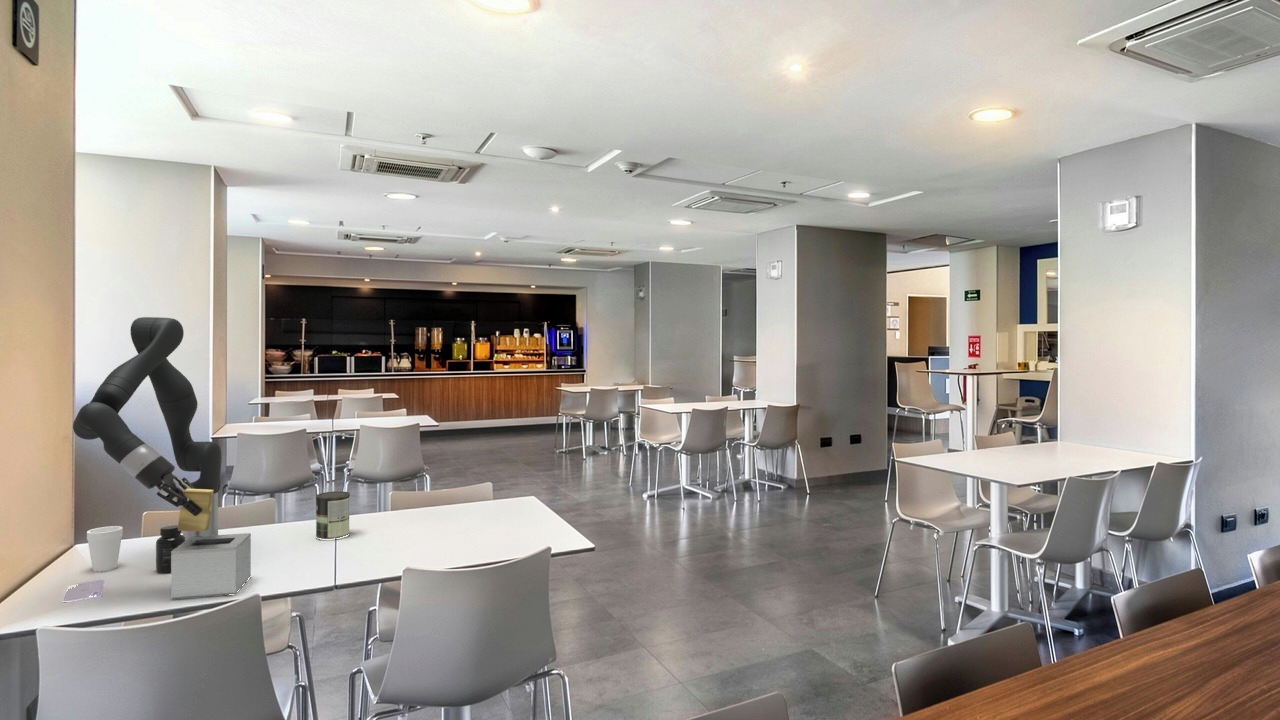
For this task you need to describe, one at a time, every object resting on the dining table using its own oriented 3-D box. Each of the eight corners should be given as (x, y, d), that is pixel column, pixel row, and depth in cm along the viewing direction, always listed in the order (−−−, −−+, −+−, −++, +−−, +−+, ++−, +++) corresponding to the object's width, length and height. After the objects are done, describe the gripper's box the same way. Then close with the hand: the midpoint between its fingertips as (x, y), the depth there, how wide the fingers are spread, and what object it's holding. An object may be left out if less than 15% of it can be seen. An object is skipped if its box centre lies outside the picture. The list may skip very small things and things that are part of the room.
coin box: (191, 581, 179) (191, 536, 179) (250, 577, 183) (250, 533, 183) (171, 600, 166) (171, 551, 166) (235, 594, 170) (235, 547, 170)
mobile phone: (104, 578, 180) (101, 594, 168) (104, 582, 180) (101, 598, 168) (67, 584, 175) (61, 601, 163) (67, 588, 175) (61, 605, 163)
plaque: (182, 527, 175) (187, 488, 175) (209, 528, 176) (213, 489, 177) (177, 530, 171) (182, 491, 172) (204, 531, 173) (209, 492, 173)
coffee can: (310, 541, 219) (311, 497, 219) (322, 533, 230) (322, 491, 229) (344, 540, 220) (344, 497, 220) (353, 532, 231) (354, 490, 231)
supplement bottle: (191, 566, 192) (191, 524, 192) (172, 574, 186) (172, 530, 185) (169, 565, 193) (169, 523, 193) (149, 573, 186) (149, 529, 186)
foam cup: (107, 563, 195) (107, 525, 195) (129, 565, 193) (129, 526, 193) (79, 572, 187) (79, 532, 187) (102, 574, 185) (102, 534, 185)
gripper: (147, 459, 165) (204, 506, 168) (170, 451, 179) (222, 495, 182) (122, 482, 164) (179, 529, 167) (147, 472, 177) (200, 516, 181)
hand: (201, 511), depth 174 cm, fingers closed on plaque, 3 cm apart
